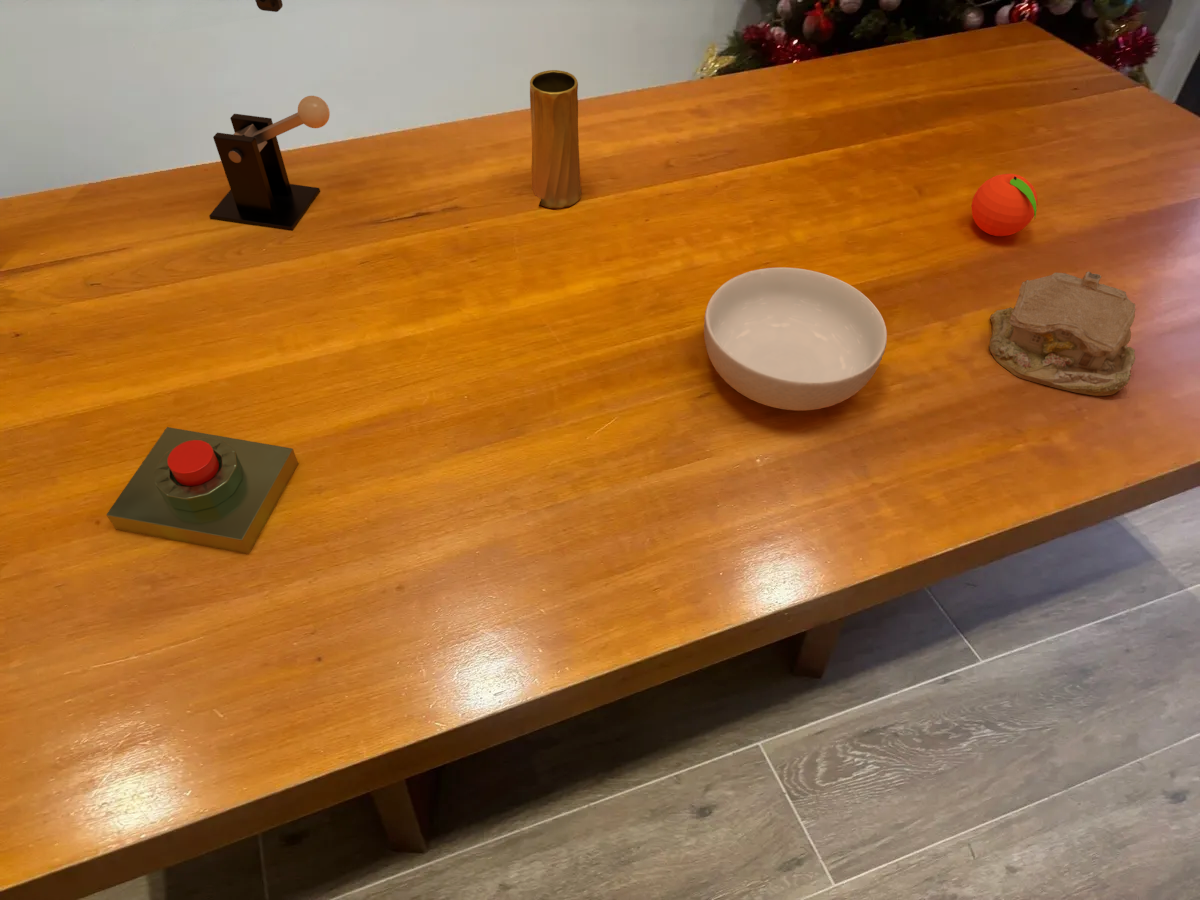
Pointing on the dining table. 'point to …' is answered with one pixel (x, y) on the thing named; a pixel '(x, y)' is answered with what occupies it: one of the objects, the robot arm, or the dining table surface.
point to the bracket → (258, 181)
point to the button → (193, 463)
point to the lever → (291, 121)
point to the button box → (206, 493)
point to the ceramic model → (1067, 334)
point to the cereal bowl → (793, 337)
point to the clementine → (1004, 205)
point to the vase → (555, 138)
